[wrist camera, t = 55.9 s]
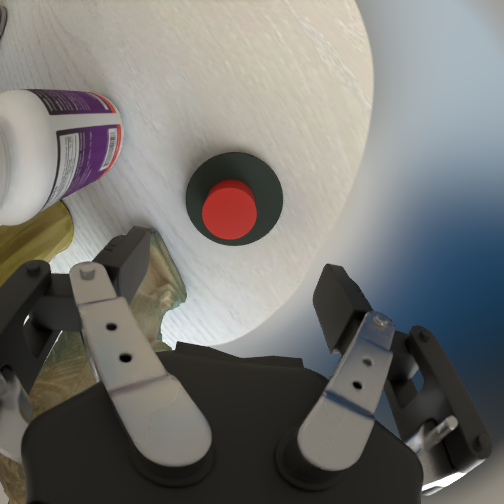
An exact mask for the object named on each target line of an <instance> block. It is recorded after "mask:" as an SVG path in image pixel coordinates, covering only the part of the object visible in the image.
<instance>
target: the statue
mask: <svg viewBox="0 0 504 504" xmlns="http://www.w3.org/2000/svg"><path fill="white" fill-rule="evenodd" d="M186 297H187V294H186V291H185V286H184V284H183V281H182V279H181V277H180V275H179V273H178V271H177V269H176V267H175V265H174V263H173V261H172V259H171V257H170V255H169V253H168V250H167V248H166V246H165V244H164V242H163V240H162V238H161V236H160V235H159V233H158V232H153V233H151V240H150V254H149V265H148V270H147V273H146V275H145V277H144V279H143V281H142V283H141V284H140V286H139V288H138V290H137V292H136V294H135V296H134V298H133V300H132V302H131V304H130V306H129V307H130V308H131V310H132V312H133V314H134V316H135V318H136V320H137V322H138V324H139V325H140V327H141V329H142V331H143V333H144V334H145V336H146V338H147V340H148V341H149V343H150V345H151V346H152V348H153V350H154V352H160V351H168V350H172V348H171V347H170V346H168V345H167V344H166V343H164V342H162V334H161V322H162V319H163V316H164V315H165V313H166V312H167V311H168V310H169V309H170V310H172V309H174V308H176V307H178V306H179V304H180V303H182V302H185V300H186ZM94 384H96V383H95V380H94V377H93V374H92V371H91V368H90V365H89V362H88V359H87V356H86V353H85V350H84V347H83V343H82V340H81V337H80V333H79V331H63V332H62V333H61V335H60V336H59V338H58V341H57V342H56V344H55V345H54V347H53V349H52V350H51V352H50V354H49V356H48V358H47V359H46V361H45V362H44V364H43V366H42V368H41V370H40V372H39V374H38V376H37V378H36V381H35V383H34V385H33V387H32V389H31V392H30V394H29V397H30V399H31V401H32V404H33V414H32V420H33V419H34V418H35V417H37V416H38V415H40V414H41V413H43V412H45V411H47V410H49V409H50V408H52V407H54V406H56V405H58V404H60V403H62V402H63V401H65V400H67V399H69V398H71V397H73V396H74V395H76V394H78V393H80V392H82V391H83V390H85V389H87V388H89V387H91V386H92V385H94ZM0 482H1V484H2V486H3V488H4V492H5V494H6V495H7V496H8V497H9V502H8V504H26V484H25V476H24V470H23V465H21V464H19V463H17V462H15V461H13V460H12V459H10V458H8V457H6V456H5V455H3V454H2V455H0Z"/></svg>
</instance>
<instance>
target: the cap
mask: <svg viewBox="0 0 504 504" xmlns="http://www.w3.org/2000/svg"><path fill="white" fill-rule="evenodd" d="M202 217H203V221H204V224H205V226H206V227H207V229H208V230H209V231H210V232H211V233H212V234H214V235H215V236H217V237H220V238H223V239H236V238H240V237H242V236H244V235H245V234H247V233H248V232H249V231H250V230H251V229H252V227H253V226H254V224H255V221H256V218H257V210H256V204H255V199H254V195H253V192H252V191H251V189H250V188H249V187H248V186H247V185H246V184H245V183H243V182H241V181H239V180H235V179H227V180H223V181H220V182H218V183H217V184H215V185H214V186H213V187H212V188H211V190H210V192H209V194H208V196H207V198H206V201H205V203H204V206H203V210H202Z"/></svg>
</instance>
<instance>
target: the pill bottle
mask: <svg viewBox="0 0 504 504" xmlns="http://www.w3.org/2000/svg"><path fill="white" fill-rule="evenodd" d="M123 138H124V129H123V122H122V118H121V116H120V113H119V111H118V109H117V108H116V106H115V105H114V104H113V103H112V102H111V101H110V100H109V99H108V98H106V97H104V96H102V95H100V94H96V93H91V92H80V91H66V90H44V89H14V90H9V91H6V92H3V93H1V94H0V224H2V225H7V226H13V225H18V224H21V223H24V222H26V221H28V220H29V219H31V218H33V217H34V216H35V215H37V214H38V213H40V212H41V211H43V210H45V209H46V208H48V207H49V206H51V205H53V204H54V203H56V202H58V201H59V200H61V199H63V198H64V197H66V196H68V195H70V194H72V193H73V192H75V191H77V190H79V189H81V188H83V187H84V186H86V185H88V184H90V183H92V182H94V181H96V180H98V179H99V178H101V177H102V176H104V175H105V174H106V173H107V172H108V171H109V170H110V169H111V168H112V167H113V165H114V164H115V162H116V161H117V159H118V157H119V155H120V152H121V149H122V145H123Z"/></svg>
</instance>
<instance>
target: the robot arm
mask: <svg viewBox="0 0 504 504" xmlns="http://www.w3.org/2000/svg"><path fill="white" fill-rule="evenodd" d="M5 22H6V10H5V8H4V7H2V6H0V38H1V35H2V33H3V30H4V26H5ZM150 240H151V230H150V229H147V228H142V227H136V226H134V227H133V228H132V229H131V230H130V231H129V232H128V233H127V235H119V236H117V237H115V238H113V239H112V240H111V241H110V242H109V243H108V245H106V246H105V247H104V248H103V250H102V251H101V252H100V253H99V254H98V255H97V256H96V257H95V258H94V259H93V261H92V262H81V263H78V264H76V265H74V266H73V267H72V268H71V269H70V271H69V274H54V273H51V270H50V265H49V263H48V262H46V261H44V260H30V261H27V262H25V263H23V264H22V265H21V266H20V267H19V268H18V269H17V270H16V271H15V272H14V273H13V274H12V275H11V276H10V277H9V278H8V279H7V280H6V281H5V282H4V283H3V284H2V285H1V287H0V455H2V454H3V455H5V456H6V457H8V458H10V459H12V460H13V461H15V462H17V463H19V464H21V465H23V470H24V476H25V484H26V504H421V494H423V495H431V494H433V493H435V492H437V491H438V490H440V489H442V488H444V487H445V486H447V485H449V484H450V483H452V482H454V481H455V480H457V479H458V478H460V477H462V476H463V475H465V474H466V473H467V472H469V471H470V470H472V469H473V468H475V467H476V466H478V465H479V464H480V463H482V462H483V461H484V460H486V459H487V458H488V457H489V456H490V455H491V452H492V441H491V439H490V436H489V434H488V432H487V430H486V427H485V425H484V423H483V421H482V419H481V417H480V415H479V413H478V411H477V409H476V407H475V405H474V403H473V401H472V400H471V397H470V395H469V394H468V392H467V390H466V388H465V386H464V384H463V383H462V381H461V379H460V377H459V376H458V374H457V372H456V370H455V369H454V367H453V365H452V364H451V362H450V360H449V359H448V357H447V355H446V354H445V352H444V350H443V349H442V347H441V346H440V344H439V342H438V341H437V339H436V338H435V336H434V335H433V334H432V333H431V332H430V331H429V330H427V329H426V328H424V327H421V326H413V327H412V328H411V330H410V331H409V333H408V334H405V333H402V332H399V331H396V330H395V325H394V323H393V321H392V320H391V319H390V318H389V317H387V316H386V315H384V314H382V313H379V312H376V311H374V310H373V309H372V308H371V306H370V304H369V302H368V301H367V299H366V298H365V296H364V294H363V293H362V291H361V289H360V288H359V286H358V285H357V284H356V283H355V282H354V281H353V280H352V279H351V278H349V276H348V275H347V273H346V271H345V270H344V268H343V267H342V266H337V265H332V264H326V265H325V266H324V268H323V271H322V274H321V276H320V279H319V281H318V284H317V286H316V289H315V291H314V295H313V305H314V308H315V311H316V313H317V316H318V319H319V322H320V325H321V327H322V330H323V333H324V336H325V339H326V342H327V345H328V348H329V351H330V353H331V354H342V357H341V358H340V360H339V362H338V363H337V365H336V367H335V368H334V370H333V372H332V373H331V375H330V377H329V378H328V379H327V378H326V377H324V376H322V375H321V374H319V373H317V372H315V371H312V370H310V369H307V368H304V366H303V362H302V359H301V358H291V357H280V356H265V357H253V358H239V357H236V356H233V355H230V354H227V353H224V352H221V351H218V350H216V349H213V348H210V347H206V346H200V345H195V344H189V343H184V342H179V341H177V344H176V348H175V350H168V351H160V352H154V350H153V348H152V346H151V345H150V343H149V341H148V340H147V338H146V336H145V334H144V333H143V331H142V329H141V327H140V325H139V324H138V322H137V320H136V318H135V316H134V314H133V312H132V310H131V308H130V307H129V306H130V304H131V302H132V300H133V298H134V296H135V294H136V292H137V290H138V288H139V286H140V284H141V283H142V281H143V279H144V277H145V275H146V273H147V270H148V265H149V254H150ZM28 314H29V319H28V320H27V322H26V323H25V324H24V321H25V319H26V317H27V316H28ZM23 324H24V326H23ZM61 330H62V331H79V333H80V337H81V340H82V343H83V347H84V350H85V353H86V356H87V359H88V362H89V365H90V368H91V371H92V374H93V377H94V380H95V383H96V384H94V385H92V386H91V387H89V388H87V389H85V390H83V391H82V392H80V393H78V394H76V395H74V396H73V397H71V398H69V399H67V400H65V401H63V402H62V403H60V404H58V405H56V406H54V407H52V408H50V409H49V410H47V411H45V412H43V413H41V414H40V415H38V416H37V417H35V418H34V419H33V420H32V414H33V404H32V401H31V399H30V397H29V394H30V392H31V389H32V387H33V385H34V383H35V381H36V378H37V376H38V374H39V372H40V370H41V368H42V366H43V364H44V362H45V360H46V358H47V356H48V354H49V352H50V350H51V348H52V346H53V344H54V343H55V341H56V339H57V337H58V335H59V333H60V332H61ZM418 369H419V370H420V371H421V373H422V375H423V378H424V385H423V388H422V389H421V391H420V392H419V393H418V392H417V390H416V388H415V385H414V383H413V381H412V379H411V378H412V376H413V375H414V374H415V373H416V371H417V370H418ZM383 388H384V391H385V393H386V396H387V399H388V402H389V405H390V408H391V410H392V413H393V416H394V419H395V422H396V425H397V428H398V431H399V434H400V438H401V440H400V439H399V438H397V437H396V436H395V435H394V434H393V433H391V432H390V431H389V430H388V429H386V428H385V427H384V426H383V425H381V424H380V423H379V422H378V421H377V420H376V419H375V418H374V412H375V409H376V407H377V404H378V401H379V398H380V395H381V393H382V389H383Z"/></svg>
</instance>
